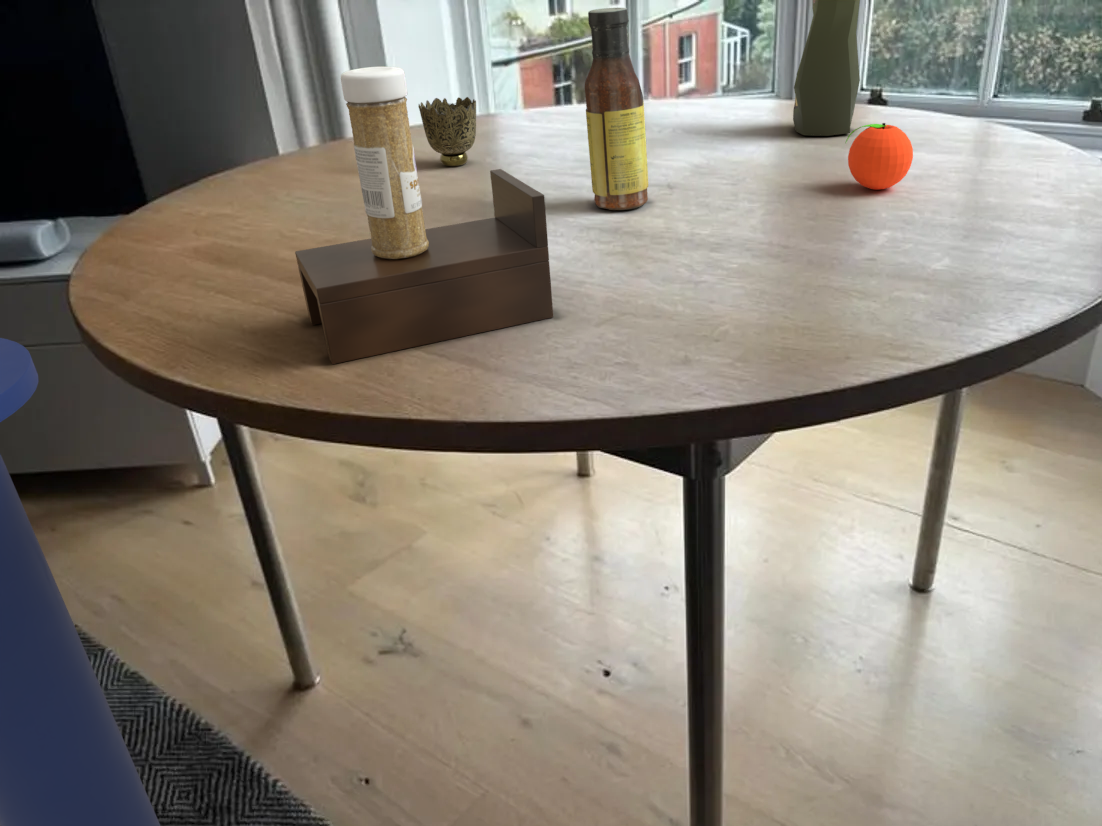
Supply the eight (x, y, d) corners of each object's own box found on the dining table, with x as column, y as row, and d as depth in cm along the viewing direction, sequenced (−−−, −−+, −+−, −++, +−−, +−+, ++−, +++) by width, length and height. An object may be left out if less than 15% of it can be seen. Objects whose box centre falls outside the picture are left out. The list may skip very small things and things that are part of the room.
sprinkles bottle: (439, 252, 73) (414, 68, 66) (385, 265, 71) (353, 76, 64) (414, 238, 76) (388, 62, 69) (362, 251, 74) (329, 70, 67)
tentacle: (846, 122, 136) (867, -118, 121) (864, 140, 125) (889, -120, 110) (783, 124, 136) (796, -114, 121) (796, 143, 126) (811, -116, 111)
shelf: (332, 364, 70) (305, 234, 65) (309, 320, 78) (283, 201, 73) (553, 317, 76) (544, 195, 71) (511, 281, 84) (500, 168, 79)
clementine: (825, 189, 105) (830, 124, 102) (857, 176, 110) (863, 113, 106) (889, 200, 100) (897, 132, 97) (920, 186, 105) (928, 120, 101)
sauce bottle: (657, 199, 105) (654, 5, 95) (633, 214, 100) (628, 12, 90) (606, 194, 108) (598, 5, 98) (580, 209, 103) (569, 12, 93)
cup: (487, 157, 127) (481, 95, 123) (476, 170, 121) (469, 105, 117) (434, 158, 128) (426, 97, 124) (420, 171, 121) (411, 107, 117)
